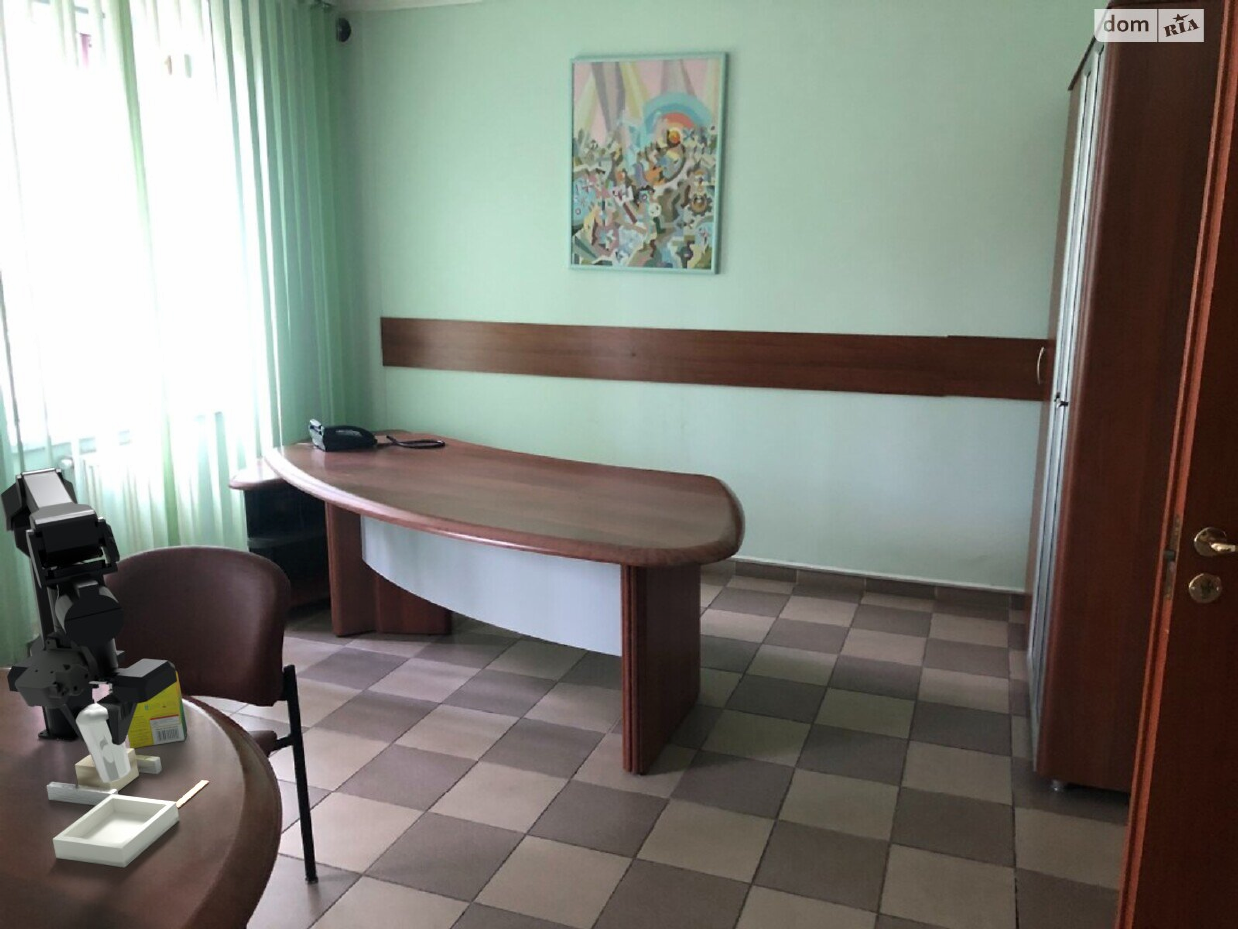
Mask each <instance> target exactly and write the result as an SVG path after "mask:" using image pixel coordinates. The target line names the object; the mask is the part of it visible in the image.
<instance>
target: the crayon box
mask: <svg viewBox="0 0 1238 929" xmlns="http://www.w3.org/2000/svg"><path fill="white" fill-rule="evenodd" d="M176 677H177V682H175V683H174V684H172V685H171V686H169V687H168V688H166V689H165V690H163V691H162V692H160V693H159V694H158V695H156V696H155V697H153V698H152V699H150V700H149V701H147V702H143V703H138V705H137V707H136V710H135V712H134V716H133V719H132V722H131V725H130V728H129V731H128V734H127V738H128V743H129V748H132V749H138V748H142V747H143V748H144V747H149V746H154V745H155V746H156V745H161V744H162V745H163V744H168V743H169V744H170V743H175V742H184V741H185V740H186V735H187V732H188V727H187V721H186V720H187V719H186V715H185V709H184V704H183V697H182V690H181V685H180V684H181V683H180V681H179V674H178V671H177V670H176Z"/></svg>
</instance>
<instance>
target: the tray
mask: <svg viewBox="0 0 1238 929" xmlns="http://www.w3.org/2000/svg"><path fill="white" fill-rule="evenodd" d="M179 821H180V816H179V808H177V801H171V800H162V799H154V798H146V797H139V796H138V797H137V796H130V795H122V794H118V795H115V794H111V795H110V796H109V797H107V798H106V799H105V800H103V801H102V802H101V803H99V804H98V805H97V806H96V805H94V807H93V808H91V809H90V810H89V811H88V812H86V813H84V814H83V815H82V816H81V817H80V818H78V819H77V820H76V821H73V823H72V824H70V825H69V826H68V827H67V828H65V829H64V830H63V831H61V832H60V833H59V834H57V835H56V836H55V837H53V838H52V842H53V848H54V852H55V854H54V855H55V858H56V859H63V860H70V861H75V862H84V863H92V864H96V865H97V864H98V865H106V866H111V867H119V868H126V867H127V866H128V865H129V864H131V862H133V861H134V860H135V859H136V858H138V857H139V856H140V855H141V854H142V853H143V852H144V851H146V850H147V849H148V848H149V847H150V846H151V845H152V844H153V843H155V842H156V841H157V840H158V839H160V838H161V837H162V836H163V835H164V834H165V833H166V832H167V831H168V830H170V829H171V828H172V827H173V826H174V825H175V824H177V823H178V822H179Z"/></svg>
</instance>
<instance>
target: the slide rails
mask: <svg viewBox="0 0 1238 929" xmlns="http://www.w3.org/2000/svg"><path fill="white" fill-rule="evenodd" d="M135 755H136V761H137V767H138V773H143V774H153V775H158V774H159V773H160V772H161V771H162V770H163V769H162V763H161V758H160V757H159V756H153V755H144V754H143V755H142V754H135ZM209 783H210V781H209V780H203V779H202V780H200V782H199V783H197V784H196V785H195V786H194V787H193V788H191V789H190V790H189V791H187V793H186V794H184V795H183V796H182V797H181V798H179V799H178V800H177V801H176V802H177V809H179V808H181V807H182V806H184V805H185V804H186V803H187V802H188V801H189V800H190V799H192V798H193V796H195V795H197V794H198V792H200V791H201V790H202V789H203V788H204V787H206V786H207V785H208V784H209ZM46 791H47V795H48V796H47V798H48V800H50V801H58V802H63V803H64V802H67V803H73V804H82V805H90V806H97V805H98V804H99V803H101V802H102V801H103V800H105V799H106V798H107V797H109V796H110V795H111V794H115V795H119V793H118V792H119V791H117V789H109V788H101V787H93V786H84V785H78V784H76V783H75V784H74V783H68V782H67V783H66V782H59V781H51V782H50V783H49V784H47V785H46Z"/></svg>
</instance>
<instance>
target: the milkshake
mask: <svg viewBox="0 0 1238 929" xmlns="http://www.w3.org/2000/svg"><path fill="white" fill-rule="evenodd" d="M76 723H77V725H78V728H79V730H80V732H81V734H82V736H83V739H84V741H85V742H84V743H85V745H86V746H87V747H86V748H87V750H88V753H89V755H91V757H92V760H93V762H94V764H95V767H96V769H97V772H98V774H99V777H100V779H101V780H102V781H103V782H112V781H116V780H119V779H121V778H123V777H124V776H126V775H128V773H129V772H130V770H131V768H130V763H129V759H128V754H127V749H126V748H127V745H126V741H125V742H124V743H122V744H121V745H116V744H115V741H114V738H113V735H112V731H111V726H110V722H109V717H108V712H107V709H106V708H104V707H103V706H101V705H99V704H97V702H95V704H91V705H89V706H87V707H86V708H84V709H83V710H82V711H81V712H80V713H79V715H78V716H77V719H76Z"/></svg>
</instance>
